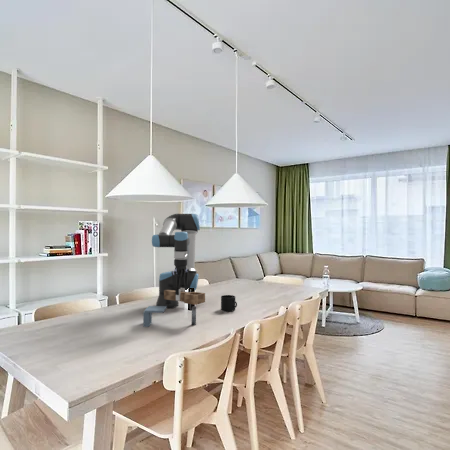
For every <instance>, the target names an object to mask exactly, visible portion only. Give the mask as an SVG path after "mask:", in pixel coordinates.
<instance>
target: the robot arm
mask: <svg viewBox="0 0 450 450" xmlns="http://www.w3.org/2000/svg"><path fill="white" fill-rule="evenodd" d="M174 231H175V232H174ZM198 231H200V219H199V214H196V213H173V214H171V215H169V216H168V217H166V218H165V219H164V220H163V222H162V227H161V229H160V231H159V232H158V234H153V235H152V237H151V245H152V247H154V248H174V250H173V252H174V253H173V258H174V260H173V266H174V269H173V270H171V271H170V270H169V271H165V272H162V273H160V274H159V278H158V279H159V280H158V297H157V301H156V303H155V304H156V305H155V306H167V308H166V309H172V308H173V309H174V308H177V307H178V306H179V302H181V301H180V291H182V292H186V291H185V290H187V289H188V288H194V291H196V290H197V288H198V283H199V277H200V276H199V273H197V271H198V270H197V269H195V267H196V265H195V263H196V262H195V261H196V260H195V259H196V235H197V234H198V233H199V232H198ZM173 233H174V234H173ZM164 290H174V291H175V294H176V300H177V301H174V300H167V299H164Z"/></svg>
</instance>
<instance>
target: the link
mask: <svg viewBox="0 0 450 450" xmlns="http://www.w3.org/2000/svg"><path fill="white" fill-rule="evenodd" d="M164 299H167V300H174V301H177V300H176V294H175V291H174V290H164ZM179 302H181V303H184V304H187V305H188V304H189V305H193V306H197V305H200V304H203V303H206V293H205V292H199V291H192V292H191V291H185V292H182V291H180V301H179Z"/></svg>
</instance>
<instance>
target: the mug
mask: <svg viewBox="0 0 450 450" xmlns="http://www.w3.org/2000/svg"><path fill="white" fill-rule="evenodd" d="M237 306H238V302H237V301H236V296H235V295H233V294H223V295H221V296H220V310H221V311H222V312H225V313H230V312H235V311H236V308H237Z"/></svg>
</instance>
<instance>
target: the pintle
mask: <svg viewBox="0 0 450 450" xmlns="http://www.w3.org/2000/svg"><path fill="white" fill-rule="evenodd" d="M196 325H197V305H192V306H191V326H196Z"/></svg>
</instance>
